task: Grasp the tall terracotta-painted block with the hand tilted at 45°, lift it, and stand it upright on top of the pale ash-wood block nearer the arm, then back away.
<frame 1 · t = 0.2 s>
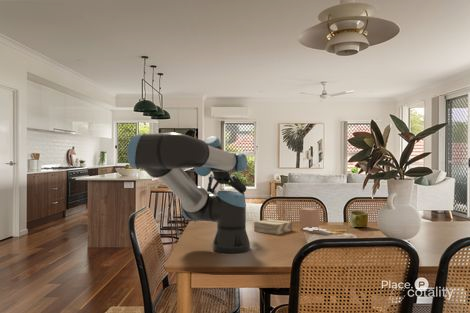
hand: (230, 201, 175), 16 cm above the table, fingers open, 13 cm apart
mug: (357, 227, 191), on the table
terracotta block: (309, 230, 184), on the table
ash block: (273, 231, 182), on the table
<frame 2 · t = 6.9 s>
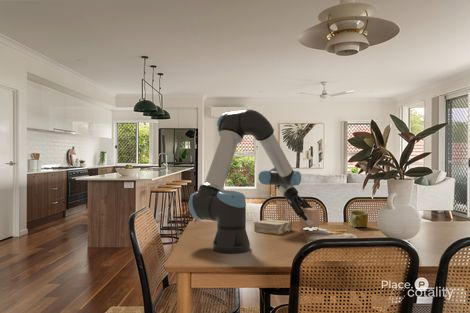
hand: (315, 223, 182), 4 cm above the table, fingers closed on terracotta block, 7 cm apart
terracotta block: (309, 229, 184), on the table, touching gripper
everything else where it was.
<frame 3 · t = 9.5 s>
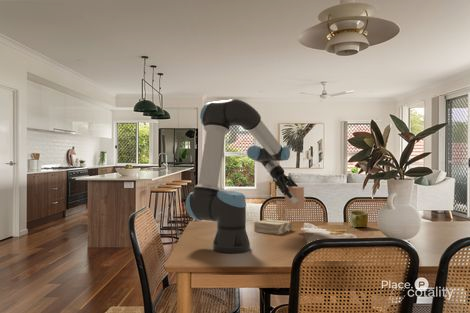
hand: (300, 201, 182), 15 cm above the table, fingers closed on terracotta block, 7 cm apart
terracotta block: (294, 208, 184), point 11 cm above the table, touching gripper
everything else where it was.
when the fingers open (10 cm above the table, at t = 12.0 s): terracotta block drops 2 cm, resting on ash block.
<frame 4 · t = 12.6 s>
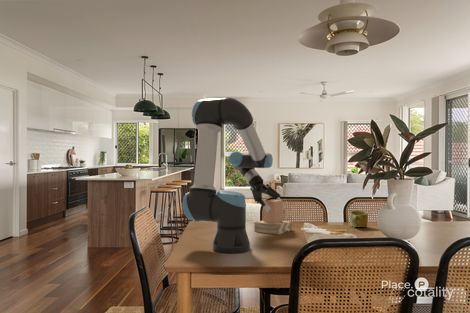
hand: (276, 209, 181), 11 cm above the table, fingers open, 13 cm apart
terracotta block: (273, 221, 182), point 5 cm above the table, touching ash block
ash block: (273, 231, 182), on the table, touching terracotta block
everything else where it was.
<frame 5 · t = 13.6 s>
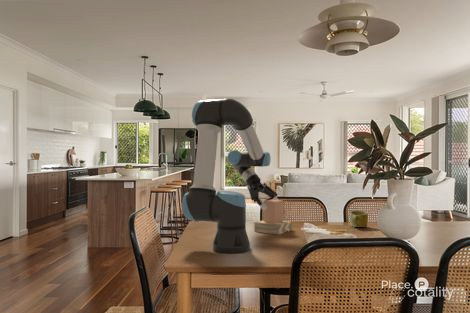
hand: (273, 208, 183), 12 cm above the table, fingers open, 13 cm apart
nothing on the table moved.
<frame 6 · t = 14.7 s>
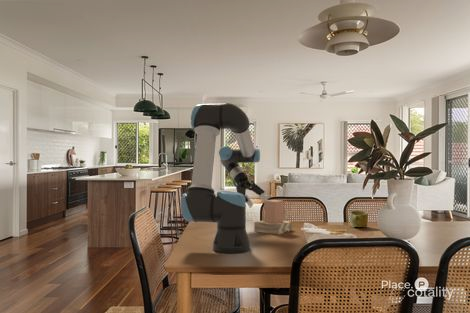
hand: (259, 204, 189), 13 cm above the table, fingers open, 13 cm apart
nothing on the table moved.
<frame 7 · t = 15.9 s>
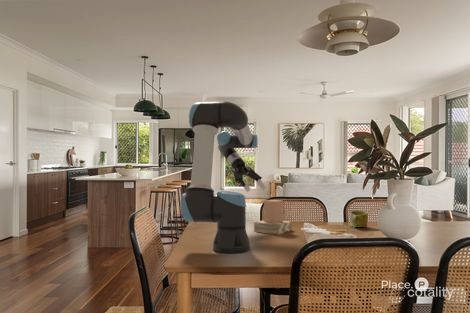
hand: (257, 189, 190), 21 cm above the table, fingers open, 13 cm apart
nothing on the table moved.
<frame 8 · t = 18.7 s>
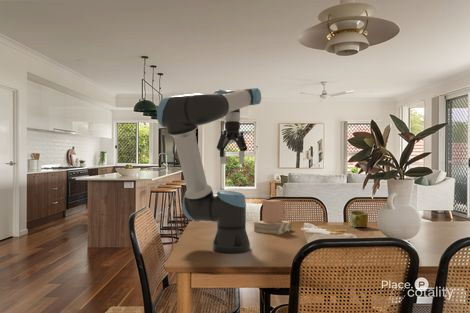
hand: (232, 163, 176), 35 cm above the table, fingers open, 13 cm apart
nothing on the table moved.
at the end: terracotta block inside the target area on the ash block (0.3 cm from its centre), point 5.1 cm above the ash block's base; terracotta block tilted 1°; the gripper is holding nothing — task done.
